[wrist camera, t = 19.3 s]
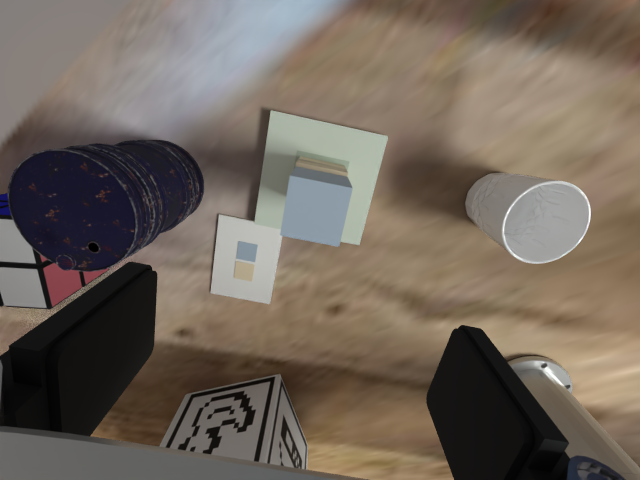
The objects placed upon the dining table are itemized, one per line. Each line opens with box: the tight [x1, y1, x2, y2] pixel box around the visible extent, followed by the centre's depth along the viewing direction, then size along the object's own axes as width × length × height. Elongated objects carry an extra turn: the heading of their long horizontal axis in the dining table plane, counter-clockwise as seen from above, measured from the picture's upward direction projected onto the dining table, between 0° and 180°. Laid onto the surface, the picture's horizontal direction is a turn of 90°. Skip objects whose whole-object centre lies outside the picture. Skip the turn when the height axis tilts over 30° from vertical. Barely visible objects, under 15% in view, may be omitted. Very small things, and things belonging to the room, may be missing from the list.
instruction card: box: [211, 214, 282, 304], centre depth 42 cm, size 11×8×1 cm
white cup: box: [465, 172, 591, 264], centre depth 35 cm, size 8×8×10 cm
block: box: [159, 374, 308, 470], centre depth 44 cm, size 15×15×15 cm
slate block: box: [280, 166, 353, 247], centre depth 29 cm, size 5×5×6 cm
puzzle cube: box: [0, 193, 109, 309], centre depth 37 cm, size 10×10×10 cm
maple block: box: [296, 156, 348, 177], centre depth 35 cm, size 5×5×6 cm
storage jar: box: [8, 140, 204, 272], centre depth 31 cm, size 10×10×18 cm
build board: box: [254, 110, 388, 245], centre depth 38 cm, size 13×13×1 cm
